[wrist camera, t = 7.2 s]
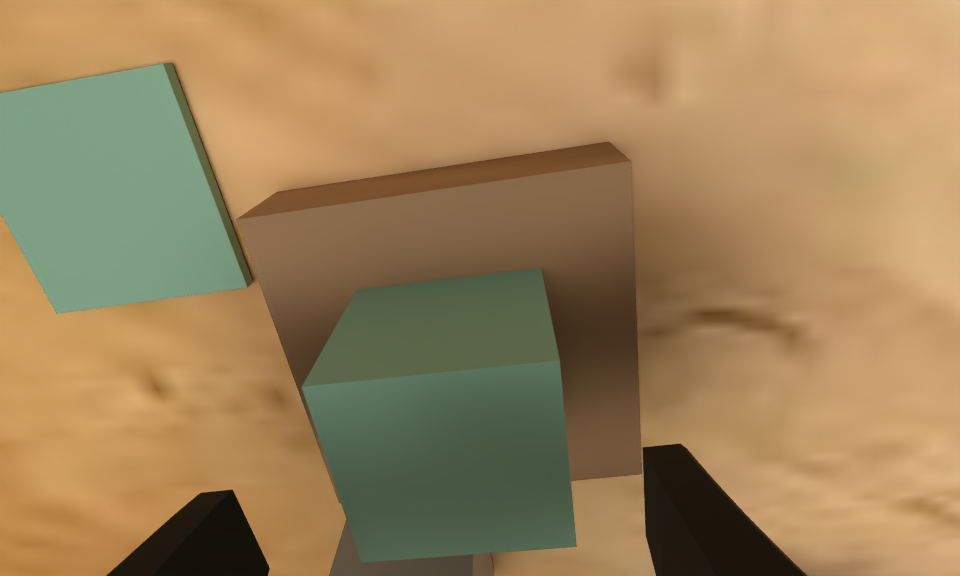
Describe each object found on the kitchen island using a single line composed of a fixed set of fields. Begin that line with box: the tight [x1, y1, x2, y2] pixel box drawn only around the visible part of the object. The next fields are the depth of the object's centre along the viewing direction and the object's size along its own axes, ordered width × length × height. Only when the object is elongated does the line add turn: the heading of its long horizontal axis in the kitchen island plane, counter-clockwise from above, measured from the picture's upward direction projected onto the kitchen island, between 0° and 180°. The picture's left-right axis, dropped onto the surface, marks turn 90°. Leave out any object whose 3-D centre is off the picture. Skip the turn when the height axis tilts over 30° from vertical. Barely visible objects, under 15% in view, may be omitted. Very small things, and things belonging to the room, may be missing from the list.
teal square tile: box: [0, 63, 253, 314], centre depth 14 cm, size 6×6×1 cm
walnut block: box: [236, 142, 642, 503], centre depth 15 cm, size 9×9×3 cm
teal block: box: [302, 268, 577, 563], centre depth 12 cm, size 4×4×4 cm
